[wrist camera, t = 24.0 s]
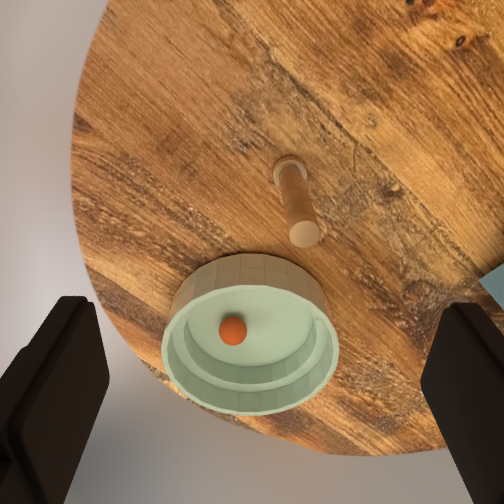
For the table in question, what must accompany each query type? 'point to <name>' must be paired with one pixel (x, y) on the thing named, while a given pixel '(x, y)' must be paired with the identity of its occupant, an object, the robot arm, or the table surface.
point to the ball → (233, 331)
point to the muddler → (296, 201)
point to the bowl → (250, 336)
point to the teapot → (495, 284)
